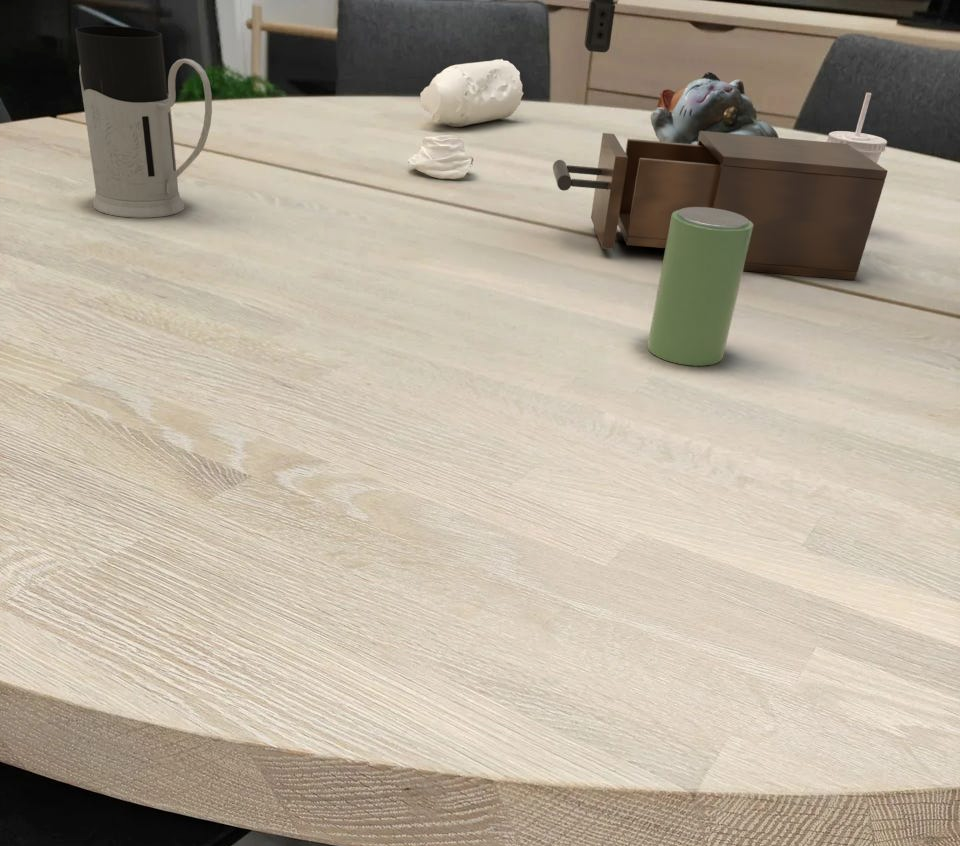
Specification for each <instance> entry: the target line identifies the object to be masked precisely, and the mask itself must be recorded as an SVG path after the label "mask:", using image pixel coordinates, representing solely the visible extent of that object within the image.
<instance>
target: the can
mask: <svg viewBox="0 0 960 846" xmlns="http://www.w3.org/2000/svg"><path fill="white" fill-rule="evenodd" d="M753 227H754V226H753V223H752V222H751V221H750V220H748V219H747V218H746V217H744V216H742V215H740V214H737V213H734V212H730V211H726V210H721V209H715V208H707V207H688V208H683V209H680V210H677V211H674V212H673V213H672V216H671V221H670V226H669V232H668V237H667V243H666V248H664V254H663V259H662V265H661V270H660V276H659V281H658V286H657V291H656V297H655V303H654V306H653V307H654V308H653V312H652V319H651V324H650V329H649V334H648V340H647V345H646V347H647V349H648V351H649V352H650V353H651V354H652V355H654V356H656V357H657V358H659V359H661V360H664V361H667V362H669V363H674V364H678V365H683V366H691V367H692V366H694V367H703V366H704V367H705V366H711V365H715V364H718V363H720V362H721V361H722V360H723V358H724V354H725V350H726V346H727V341H728V338H729V333H730V328H731V325H732V321H733V316H734V312H735V307H736V303H737V298H738V295H739V290H740V286H741V283H742V277H743V273H744V271H743V269H744V265H745V261H746V257H747V252H748V248H749V244H750V239H751V235H752V231H753Z"/></svg>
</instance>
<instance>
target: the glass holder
mask: <svg viewBox="0 0 960 846" xmlns="http://www.w3.org/2000/svg"><path fill="white" fill-rule="evenodd" d="M74 30H75V38H76V44H77V46H76V47H77V52H78V60H79V69H78V74H79V81H80V87H81V95H82V102H83V109H84V117H85V122H86V123H85V124H86V130H87V131H86V132H87V138H88V144H89V152H90V158H91V167H92V173H93V180H94V188H95V192H94V194H95V196H94V199H93V202H92V207H93V209H95V210H96V211H98V212H100V213H103V214H106V215H109V216H110V215H111V216H114V217H121V218H137V219H139V218H141V219H142V218H144V219H145V218H146V219H147V218H161V217H167V216H172V215H176V214H178V213H180V212H182V211H183V210H184V209H185V204H184V201H183V200H182V198H181V195H180V192H179V185H178V183H179V182H178V178H179V176H180V175H181V174H182V173H183V172H184V171H186V170H187V169H188V168H189V166H191V164H192V163H193V162H194V161H195V159H196V158H198V156H199V155H200V154H201V152H203V150H204V147H205V144H206V142H207V140H208V137H209V132H210V129H211V123H212V116H213V115H212V114H213V100H212V99H213V98H212V97H213V95H212V89H211V81H210V80H209V77H208V75H207V73H206V71H205V69H204V68H203V67H202V65H201V64H199V63H198V62H197V61H195V60H193V59H190V58H181V59H178V60H176V61H175V62H174V63H173V64H172V65H171V66H170V69H169V73H168V77H167V76H166V65H165V57H164V55H165V54H164V44H163V35H162V33H161V32H159V31H156V30H151V29H146V28H140V27H130V26H119V25H118V26H117V25H88V26H87V25H85V26H79V27H76V28H75V29H74ZM183 64H187V65H189V66H191V67H192V68H193V69H194V70H195V71H196V72H197V73H198V75H199V78H200V80H201V82H202V86H203V92H204V119H203V126H202V130H201V132H200V137H199V140H198V142H197V144H196V147H195V149H194V150H193V152H192V153H191V154H190V155H189V157H188V158H187V159H186V160H185V161H184V162H183V163H182V164H181V165H180V166H178V168H177V163H176V161H177V160H176V154H175V153H176V152H175V151H176V149H175V141H174V131H173V120H172V107H174V105H175V103H176V99H177V98H176V97H177V96H176V95H177V94H176V91H177V90H176V78H177V73H178V70H179V68H180V67H181V66H182V65H183Z"/></svg>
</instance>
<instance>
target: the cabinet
mask: <svg viewBox="0 0 960 846" xmlns="http://www.w3.org/2000/svg"><path fill="white" fill-rule="evenodd" d="M697 145H704V146H705V147H706V148H707V149H708V150H709V151H710V152H711V153H712V154H713V156H714V157H715V158H716V159H717V160H718V161H719V162H720V163H721V165H720V170H719V174H718V179H717V184H716V189H715V194H714V199H713V203H712V208H715V209H721V210H726V211H730V212H734V213H737V214H740V215H742V216H744V217H746V218H747V219H748V220H750V221H751V222H752V223H753V226H754V227H753V231H752V235H751V239H750V244H749V248H748V252H747V257H746V261H745V265H744V269H743V272H751V273H763V274H774V275H775V274H776V275H777V274H778V275H786V276H787V275H788V276H801V277H813V278H824V279H825V278H826V279H836V280H837V279H838V280H848V281H855V280H856V279H857V276H858V272H859V268H860V265H861V261H862V258H863V256H864V252H865V250H866V249H865V248H866V245H867V241H868V238H869V235H870V232H871V229H872V225H873V222H874V219H875V215H876V213H877V209H878V205H879V202H880V199H881V195H882V192H883V188H884V186H885V182H886V179H887V175H888V173H889V171H888V169H885V167H882V166H881V164H878V162H877V163H875V162H874V161H872V160H871V159H869V158H868V157H866V156H865V155H863V154H862V153H860V152H859V151H857V150H856V149H854V148H853V147H851V146H850V145H848V144H843V143H831V142H826V141H819V140H810V139H809V140H808V139H807V140H806V139H797V138H786V137H779V138H776V137H764V136H753V135H742V134H731V133H720V132H708V131H700V132H699V136H698V142H697Z"/></svg>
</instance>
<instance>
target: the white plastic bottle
mask: <svg viewBox="0 0 960 846" xmlns="http://www.w3.org/2000/svg"><path fill="white" fill-rule="evenodd" d="M520 75H521V73H520V71H519V70H518V69H517V68H516V66H515V65H514V64H513V63H511V62H510V61H509V60H503V58H501V59H493V60H485V61H478V62H477V61H476V62H467V63H459V64H454V65H449V66H448V67H446V68H444V69H443V70H442V71H441V72H439V73H437V74H436V75H435V76H434V77H433V78H432V80H431V81H430V83H429V85H427V86H426V87H424V88H423V89H422V91H421V92H420V95H419V96H420V104H421V107H422V108H423V110H424V111H426V112H427V113H428V114H429V115H432V122H433V123H435V122H442V123H444V124H446V125H448V126H449V127H453V128H461V127H467V126H471V125H475V124H480V123H481V124H482V123H486V122H492V121H496V120H503V119H506V118H509V117H511V116H512V115H513V114H514V113H515V112H516V111H517V110H518V108H519V106H520V105H521V102H522V97H523V95H524V94H525V93H524V92H523V83H522V81H521V76H520Z"/></svg>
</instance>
